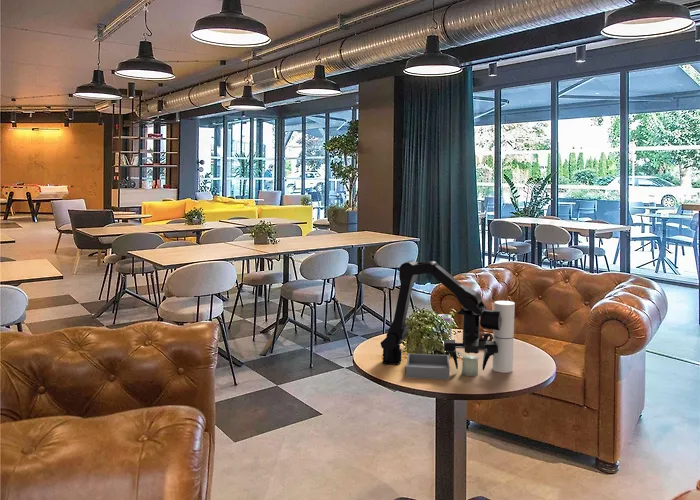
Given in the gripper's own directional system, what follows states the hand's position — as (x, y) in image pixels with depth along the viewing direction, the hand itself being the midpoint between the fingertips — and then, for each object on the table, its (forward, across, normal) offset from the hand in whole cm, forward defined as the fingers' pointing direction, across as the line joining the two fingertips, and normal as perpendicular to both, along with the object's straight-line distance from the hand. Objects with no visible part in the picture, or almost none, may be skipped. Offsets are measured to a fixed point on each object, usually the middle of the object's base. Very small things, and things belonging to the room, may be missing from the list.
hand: (470, 369), depth 203 cm
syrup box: (+2, -9, +26) cm, 28 cm away
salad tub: (+2, 0, 0) cm, 2 cm away
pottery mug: (+2, +6, +34) cm, 35 cm away
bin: (+2, -15, 0) cm, 15 cm away
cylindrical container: (+2, +12, +6) cm, 14 cm away
